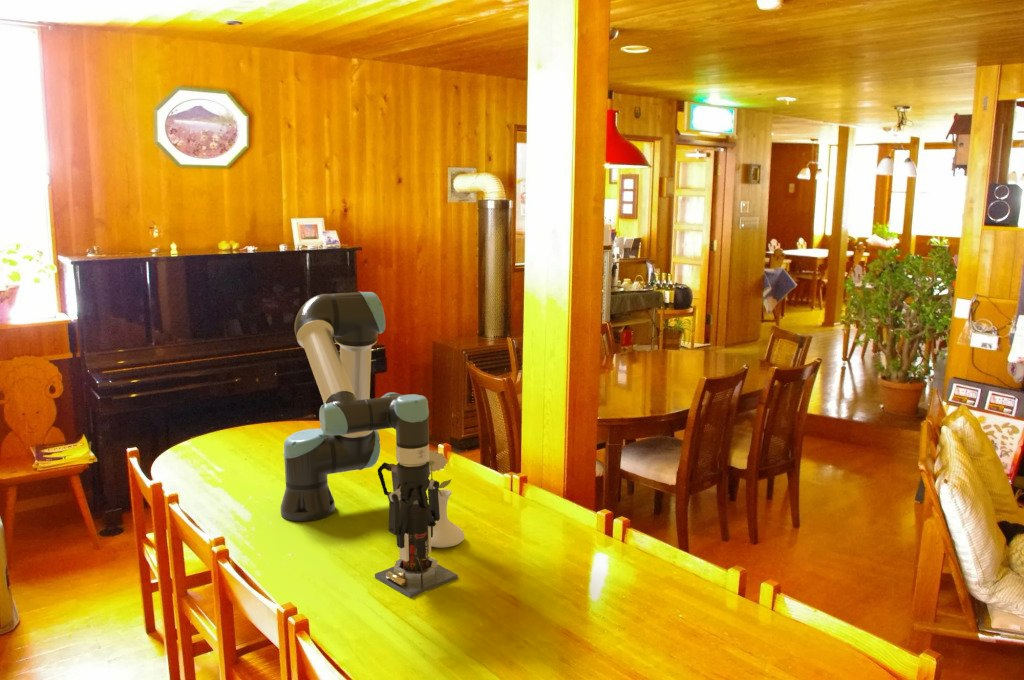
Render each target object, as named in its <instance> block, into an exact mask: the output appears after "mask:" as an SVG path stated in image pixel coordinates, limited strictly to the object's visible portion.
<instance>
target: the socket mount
mask: <svg viewBox="0 0 1024 680" xmlns="http://www.w3.org/2000/svg"><path fill="white" fill-rule="evenodd" d="M428 565H429V568H428V569H425V570H423V571H406V570H404V569H403V560H402V559H400V558H399V559H397V560H396V561H395V562H394V566H391V567H389V568H386V569H384V570H381V571H379V572H376V573H374V578H375V579H376V580H378V581H380V582H382V583H383V584H385V585H387V586H388V587H391V589H394V590H395V591H398V592H399V593H401V594H403V595H404V596H406V597H407V598H409V599H411V598H413V597H416V596H418V595H421V594H423V593H425V592H428V591H431V590H433V589H435V588H437V587H440V586H443V585H445V584H447V583H449V582H452V581H454V580H457V579H458V577H459V575H458V574H457V573H456V572H454V571H452V570H450V569H448V568H446V567H443V566H442V565H440V564H439V563H438V560H437V559H435V558H433V557H431V556H429V555H428Z"/></svg>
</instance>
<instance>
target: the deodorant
mask: <svg viewBox="0 0 1024 680" xmlns="http://www.w3.org/2000/svg"><path fill="white" fill-rule="evenodd" d="M406 534H408V542H409V561H407V562H406V561H404V560H403V569H404V570H406V571H423V570H425V569H428V568H429V565H428V556H429V553H428V518H427V507H422V506H420V505H419V504H413V506H412V507H411V510H410V513H408V523H407V528H406Z"/></svg>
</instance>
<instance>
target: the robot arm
mask: <svg viewBox="0 0 1024 680" xmlns="http://www.w3.org/2000/svg"><path fill="white" fill-rule="evenodd" d="M385 329H386V315H385V310H384V306H383V304H382V301H381V300H380V298H379V296H378V295H377V293H375V292H372V291H357V292H355V291H354V292H342V293H340V292H339V293H321V294H318V295H315V296H313V297H311V298H310V299H308V300H307V301H305V303H304V304H303V305H302V306H301V307H300V309H299V310H298V312H297V315H296V317H295V320H294V334H295V338H296V341H297V343H298V345H299V346H300V347H302V348H303V349H304V351H305V354H306V357H307V359H308V363H309V366H310V369H311V371H312V374H313V376H314V379H315V382H316V385H317V387H318V391H319V393H320V395H321V396H320V397H321V399H322V402H323V404H322V405H321V406H320V408H319V412H318V414H319V415H318V418H319V423H320V428H308V429H303V430H299V431H296V432H293V433H291V434H290V435H289V436H287V437H286V439H285V440H284V443H283V459H284V473H285V474H284V475H285V479H284V480H285V488H284V490H285V491H284V493H283V497H282V501H281V504H280V515H281V517H282V518H283V519H285V520H288V521H293V522H310V521H317V520H320V519H324V518H326V517H329V516H331V515H332V514H333V513H334V512H335V511H336V504H335V503H336V502H335V499H334V496H333V494H332V492H331V489H330V485H329V484H328V483H329V482H328V476H329V475H333V474H339V473H345V472H353V471H361V470H364V469H368V468H372V467H374V466H375V465H376V464H377V462H378V461H379V458H380V453H381V452H380V451H381V442H380V441H381V437H380V433H379V430H386V429H394V430H395V437H396V438H395V439H396V443H395V444H396V446H395V447H396V462H397V463H396V464H397V477H398V480H399V484H398V487H397V490H396V491H394V492H393V491H392V492H391V491H388V494H387V495H386V496H387V499H388V503H389V504H388V505H389V506H388V532H389V533H390V534H392V535H394V536H396V546H397V547H398V549H399V551H398V552H399V559H402V560H404V561H406V562H407V561H409V542H408V534H406V528H407V523H408V513H410V510H411V507H412V506H413V503H414V501H416V500H417V501H418V504H419V505H420V506H422V507H427V518H428V554H431V553H432V546H431V537H433V527H434V526H435V525H436V523H435V522H436V521H439V519H440V513H439V498H438V489H439V490H440V488H439V486H440V481H439V480H438V481H437V480H435V479H431V478H430V477H431V474H430V473H431V471H430V465H429V462H428V460H429V451H430V438H429V437H430V436H429V435H430V431H429V430H430V428H429V427H430V425H429V424H430V423H429V421H430V419H429V415H430V410H429V401H428V399H427V397H426V396H424V395H421V394H420V395H419V394H414V393H412V394H410V393H409V394H400V393H397V392H394V391H393V392H387V393H385V394H383V395H382V396H381V397H375V398H371V397H370V396H371V395H370V394H371V371H372V369H371V368H372V347H373V346H374V345H376V343H377V342H378V334H379V335H381V334H382V333H384V332H385ZM336 344H337V345H339V350H338V349H337V346H336ZM400 495H401V499H400ZM399 500H400V503H399ZM407 501H408V502H407ZM400 504H401V506H400Z"/></svg>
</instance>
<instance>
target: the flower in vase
mask: <svg viewBox="0 0 1024 680" xmlns="http://www.w3.org/2000/svg"><path fill="white" fill-rule="evenodd" d="M428 462H429V465H430V473H431V474H430V477H431V478H430V480H431V479H433V473H435V472H438V471H441V470H443V469H445V467H446V466H447V464H448V459H447V458H446V455H444V454H443V453H442V452H439V451H438V450H434V451H433V450H431V449H429V460H428ZM433 480H434V479H433ZM451 482H452V478H450V479H448V480H444V481H442V482H441V483H439V489H438V498H439V513H440V519H439V521H435V523H436V525H435V526H434V527H433V537H431V548H432V547H433V548H437V549H438V548H443V549H444V548H450V547H454V546H457V545H459V544H461V543H462V542H463V541H464V539H465V537H466V536H465V533H464V530H462V528H461V527H459V526H458V525H456V524H454V523H453V522H452V521H451V520H449V518H448V512H447V511H448V509H447V508H448V502H449V499H450V496H452V494H453V493H452V490H450V489H445V488H446V487H448V485H449V486H450V483H451Z"/></svg>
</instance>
